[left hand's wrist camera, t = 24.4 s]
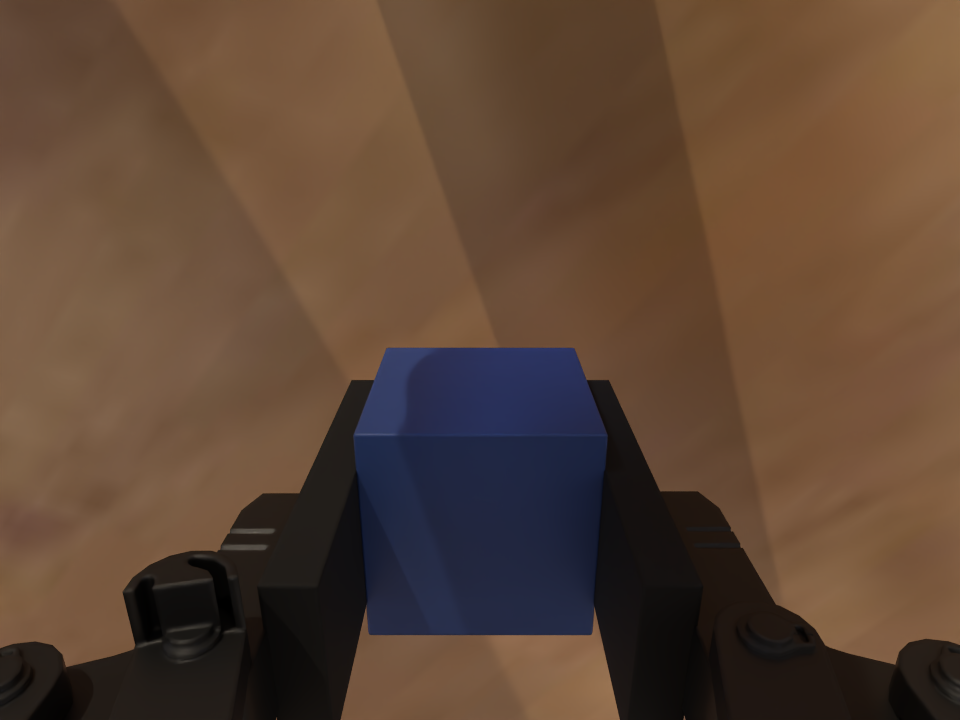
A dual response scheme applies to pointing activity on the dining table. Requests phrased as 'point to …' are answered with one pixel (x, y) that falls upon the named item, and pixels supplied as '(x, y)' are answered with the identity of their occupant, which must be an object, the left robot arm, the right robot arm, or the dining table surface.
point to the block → (480, 492)
